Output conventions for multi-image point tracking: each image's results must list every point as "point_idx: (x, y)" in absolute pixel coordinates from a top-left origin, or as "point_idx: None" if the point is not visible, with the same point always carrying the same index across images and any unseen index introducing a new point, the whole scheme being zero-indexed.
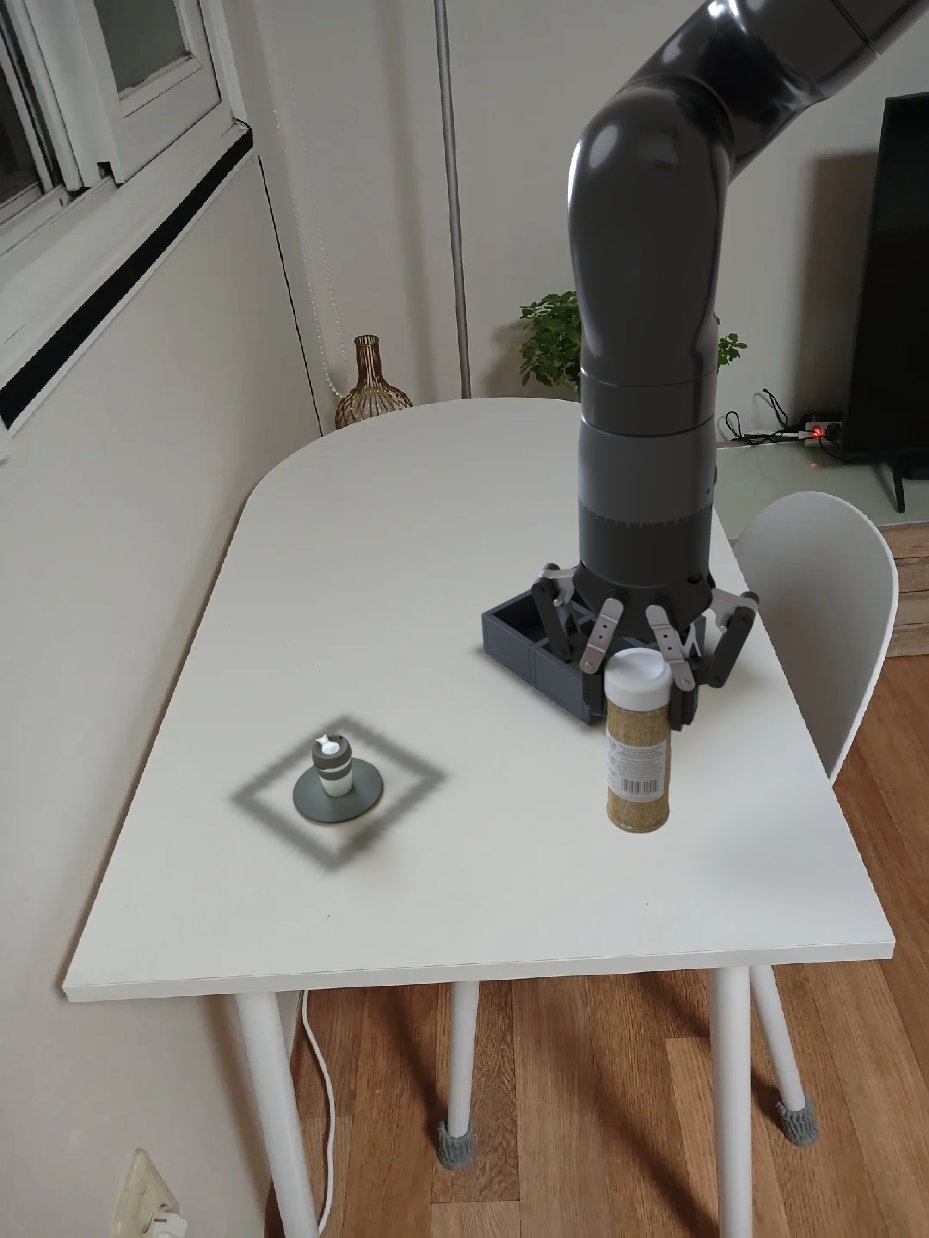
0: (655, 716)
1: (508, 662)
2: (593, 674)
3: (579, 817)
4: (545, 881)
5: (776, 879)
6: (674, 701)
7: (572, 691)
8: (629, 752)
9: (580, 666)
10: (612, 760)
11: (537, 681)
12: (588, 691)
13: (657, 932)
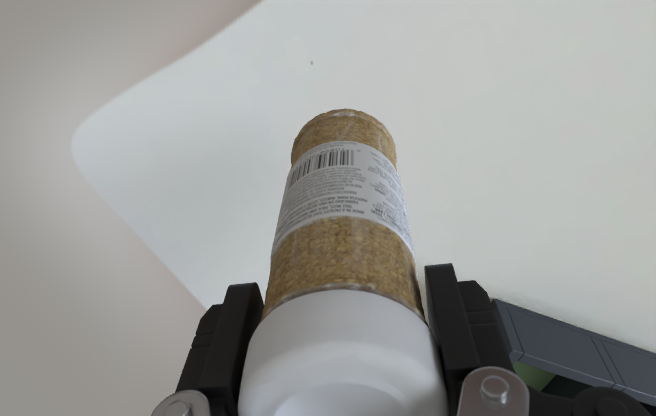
0: (275, 298)
1: (641, 355)
2: (471, 366)
3: (453, 158)
4: (460, 31)
5: (187, 170)
6: (228, 351)
7: (534, 337)
8: (335, 205)
9: (522, 382)
10: (379, 187)
11: (589, 339)
12: (476, 314)
13: (279, 23)
